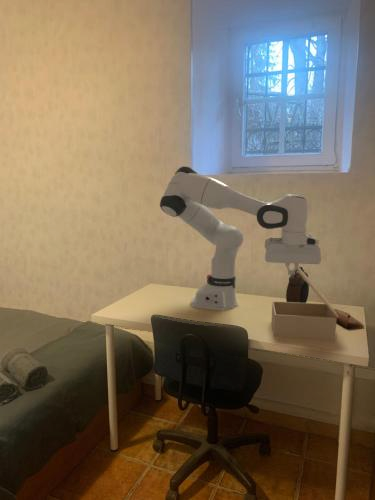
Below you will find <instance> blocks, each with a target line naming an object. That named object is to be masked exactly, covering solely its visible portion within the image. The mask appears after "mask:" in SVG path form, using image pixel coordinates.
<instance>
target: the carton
mask: <svg viewBox="0 0 375 500" xmlns="http://www.w3.org/2000/svg"><path fill="white" fill-rule="evenodd" d="M336 320H337V318H336V316H335V315H334V313H333V312H332V311H331V310H330V309H329V308H328V306H327V305H326V304H325V303H319V302H317V303H315V302H314V303H312V302H306V303H297V302H286V301H275V300H273V301H272V305H271V327H272V332H273V337H280V338H291V339H292V338H294V339H308V340H319V341H321V340H322V341H334V342H335V341H336V333H337V330H336V329H337V322H336Z"/></svg>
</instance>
